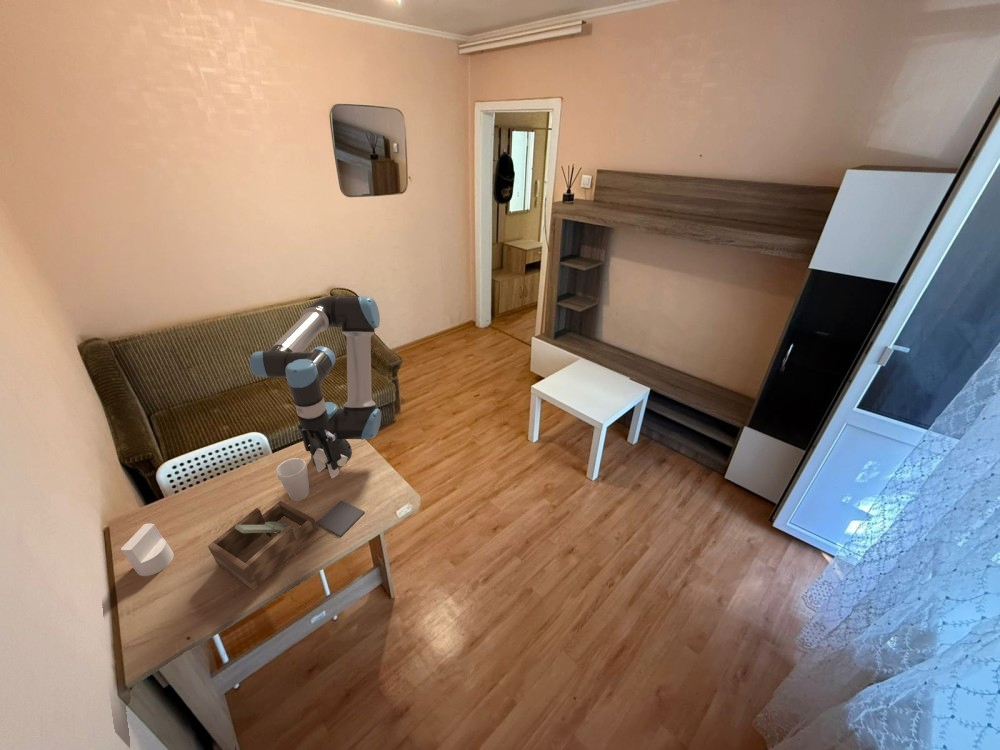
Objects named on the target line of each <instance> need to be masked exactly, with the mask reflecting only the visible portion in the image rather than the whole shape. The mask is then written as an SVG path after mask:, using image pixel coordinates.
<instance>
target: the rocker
mask: <svg viewBox="0 0 1000 750" xmlns="http://www.w3.org/2000/svg"><path fill="white" fill-rule="evenodd" d="M287 526H289V525H287V524H286V523H284V522H282V521H278V522H265V524H264V525H236V526H235V529H237V530H238V531H240V532H242V533H264V534H266V533H270V534H271V533H276V534H277V535H278V534H279V533H281V532H282V531H283V530H284V529H285V528H286V527H287ZM292 530H293V532H295V531H296V530H297V529H294V528H293V527H292Z"/></svg>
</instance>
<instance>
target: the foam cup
mask: <svg viewBox="0 0 1000 750" xmlns="http://www.w3.org/2000/svg"><path fill="white" fill-rule="evenodd" d="M275 473H276V476H277V478H278V481H280V482H281V484H282V486H283V488H284V489H285V491H286V493H287V494H288V496H289V497H290V499H291V500H292V501H294V502H296V501H302V500H304V499H306V498H307V497H308V495H310V485H309V484H310V483H309V475H308V465H307V462H306V461H305V459H303V458H300V457H292V458H289V459H286V460H284V461H282V462H281V463H279V465H278V466H277V467H276V469H275Z"/></svg>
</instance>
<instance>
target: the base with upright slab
mask: <svg viewBox="0 0 1000 750" xmlns="http://www.w3.org/2000/svg"><path fill="white" fill-rule="evenodd" d="M120 550H121V552H122V553H123V554H124V556H125V558H127V561H128V563H130V564H129V565H130V566H131V567H132V568H133V569H134V571H135V572H136V573H137V574H138V575H139V576H140V577H150V576H153V575H155V574H157V573H158V574H159V573H160V572H161V571H163V570H164V569H165V568H167V567H168V566H169V565H170V564H171V562H172V561H173V559H174V555H175V554H174V552H173V550H172V548H171V546H170V545H169V543H168V542H167V540H166V539H165V538H164V537H163V535H161V532H159V530H158V528H157V526H156V524H154V523H150V522H149V523H144V524H143V525H142V526H141V527H140V528H139V529H138V530H137V531H136V532H135V533H134V534H133V535H132V537H130V539H128V541H127V542H126V543H125V544H124V545H123V546H122V547H121V548H120Z"/></svg>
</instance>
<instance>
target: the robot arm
mask: <svg viewBox="0 0 1000 750" xmlns="http://www.w3.org/2000/svg"><path fill="white" fill-rule="evenodd" d="M380 322H381V318H380V311H379V308H378V305H377V302H376V301H375V299H374V298H373V297H371V296H370V297H369V296H363V295H352V296H351V295H350V296H348V295H347V296H346V295H341V296H340V295H331V296H326V297H324V298H320V299H317V300H316V301H315V302H312V303H311V304H309V305H308V306H306V308H305V309H303V311H302V312H301V315H300V319H298V320H297V321H296V322H295V323H294V324H293V325H292V326H291V327H290V328H289V329H288V330H287V331H286V332H285V333H284V334H283V335H282V336H281V337H280V338H279V339H278V340H277V341H276V342H275V343H274V344H273V345H272V346H271V348H269V349H268V350H266V351H265V350H261V351H255V352H253V353H252V354H251V356H250V358H249V368H250V372H251V373H252V375H254V376H256V377H258V378H259V377H260V378H286V382H287V385H288V387H289V391H290V393H291V396H292V397H291V398H292V399H293V403H294V407H295V409H296V410H295V412H296V414H297V418H298V422H299V424H298V425H297V428H298V430H299V432H300V435H301V438H302V441H303V445H304V449H305V451H306V452H309V454H311V455H310V458H311V462H312V465H314V467H316V470H317V472H318V473H320V472H321V471H323V470H327V469H328V472H329V475H330V478H331V479H332V480H333V479H334V478H336V477H337V476H338V475H339V474H340V470H339V467H340V466H339V465H338V463H337V461H339V460H340V459H341V455H344V456H346V457H348V459H347V461H346V463H347V462H348V461H349V460H350V459H351V456H352V454H353V451H352V446H351V443H350V442H349V441H348V440H362V441H364V440H372V439H375V437H376V436H377V435H378V433H379V430H380V426H381V422H382V413H381V410H380V409H379V408H377V405H376V404H377V403H376V401H374V400H373V399H372V357H371V356H372V351H371V350H372V348H371V339H372V336H373V335H374V334H375V332H376V331H375V330H376V329H377V328H379V327H380ZM330 328H341V332H342V334H343V335H344V336H345V337H346V369H347V370H346V372H347V373H346V374H347V379H346V380H347V400H346V402H345V403H344V404H343V408H339V407H338V405H337V404H336V403H334V402H333V401H332V402H331V401H327V402H326V401H325V398H324V394H323V391H322V383H323V382H324V381H325V379H326V378H327V376H328V375H329V374H330V372H331V371H332V370H333V367H334V366H335V364H336V360H337V359H336V355H335V353H334V352H333V350H332V349H331V348H329V347H326V346H323V345H322V346H321V345H320V346H316V347H314V348H312V349H311V350H310V351H305V350H306V349H307V348H308V346H310V344H311V343H312V342H313V340H315V339H316V337H317V336H318V335H319V334H320V333H323V332H325V331H326V330H327V329H330ZM317 448H319V449H323V451H324V453H325V455H326V457H327V459H328V461H327V463H324V462H321V461H319V460H317V459H315V458H313V456H314V454H315V452H316V449H317Z"/></svg>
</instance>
